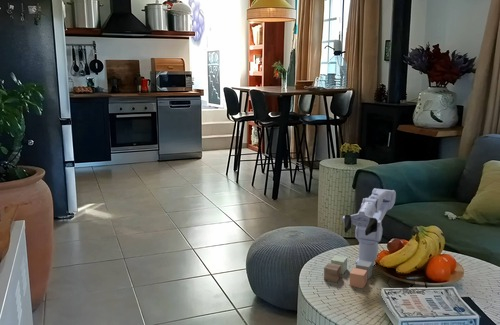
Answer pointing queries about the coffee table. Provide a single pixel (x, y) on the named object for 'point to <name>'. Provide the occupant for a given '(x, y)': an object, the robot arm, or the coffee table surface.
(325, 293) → the coffee table surface
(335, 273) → the walnut block
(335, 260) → the sage block
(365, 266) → the slate block
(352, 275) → the terracotta block
